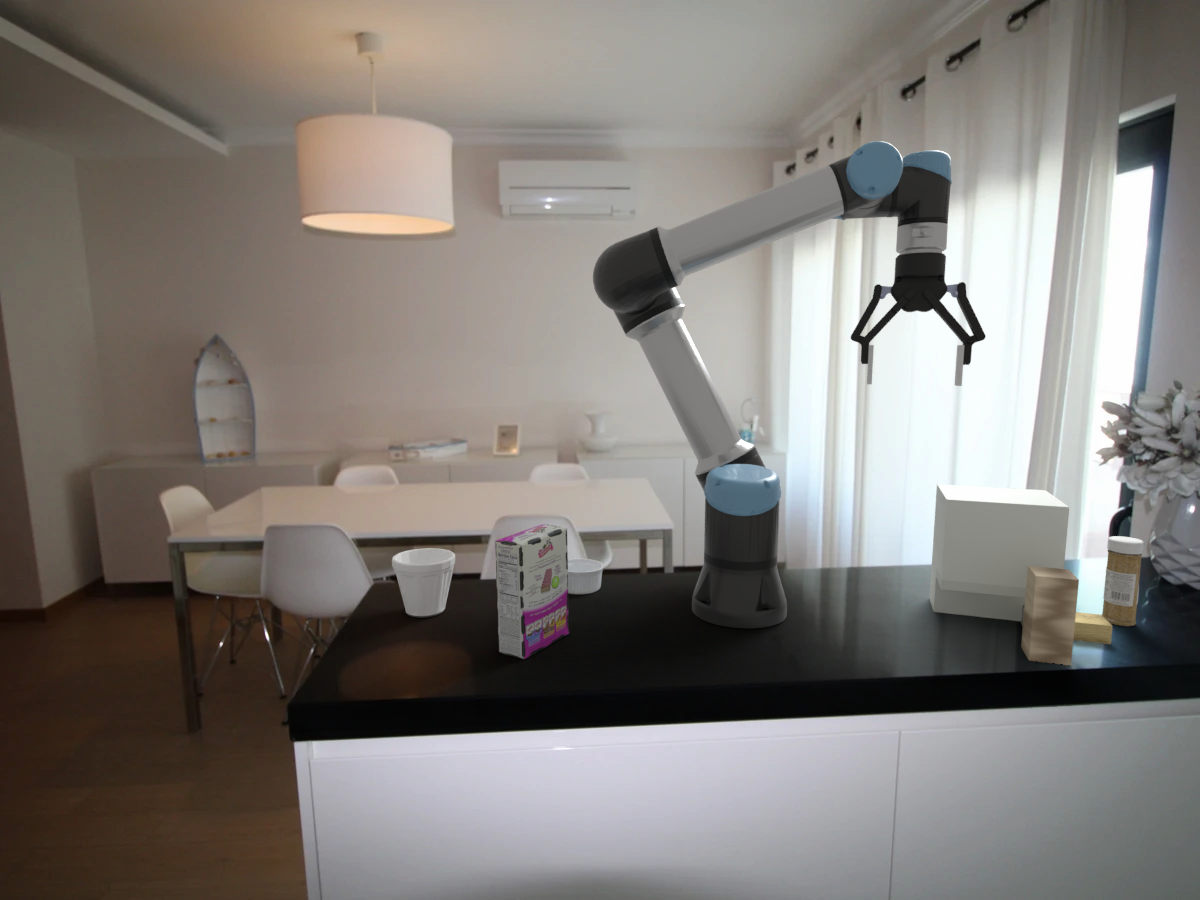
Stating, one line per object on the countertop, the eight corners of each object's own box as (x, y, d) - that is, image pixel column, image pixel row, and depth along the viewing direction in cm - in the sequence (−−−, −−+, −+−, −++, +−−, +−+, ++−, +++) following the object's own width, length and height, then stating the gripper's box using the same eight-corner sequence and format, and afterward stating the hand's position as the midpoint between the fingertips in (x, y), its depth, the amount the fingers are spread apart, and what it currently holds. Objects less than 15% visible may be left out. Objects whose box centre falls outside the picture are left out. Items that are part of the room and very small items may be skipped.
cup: (381, 612, 117) (379, 556, 116) (433, 597, 125) (432, 544, 123) (416, 627, 111) (414, 569, 109) (469, 611, 118) (468, 555, 117)
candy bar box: (542, 627, 111) (542, 523, 109) (570, 634, 108) (569, 527, 106) (495, 652, 101) (493, 538, 99) (523, 661, 99) (522, 543, 97)
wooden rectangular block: (1028, 660, 100) (1036, 575, 98) (1007, 622, 114) (1013, 547, 112) (1070, 665, 98) (1078, 579, 96) (1043, 626, 112) (1050, 550, 111)
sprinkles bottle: (1140, 623, 114) (1149, 539, 112) (1128, 629, 111) (1137, 543, 109) (1107, 614, 117) (1115, 533, 116) (1094, 620, 115) (1102, 537, 113)
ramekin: (574, 577, 136) (575, 555, 136) (613, 586, 131) (613, 563, 131) (543, 589, 129) (543, 565, 129) (582, 599, 124) (582, 575, 124)
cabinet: (938, 626, 112) (946, 499, 109) (929, 598, 125) (936, 484, 122) (1057, 640, 107) (1069, 507, 104) (1035, 609, 120) (1045, 490, 117)
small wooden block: (1070, 641, 107) (1072, 621, 107) (1061, 629, 112) (1063, 610, 111) (1110, 645, 105) (1112, 626, 105) (1099, 633, 110) (1101, 614, 110)
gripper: (839, 253, 118) (833, 384, 121) (1011, 246, 110) (1001, 387, 113) (840, 259, 125) (834, 382, 128) (1003, 253, 117) (993, 385, 120)
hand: (912, 385), depth 121 cm, fingers open, 13 cm apart
